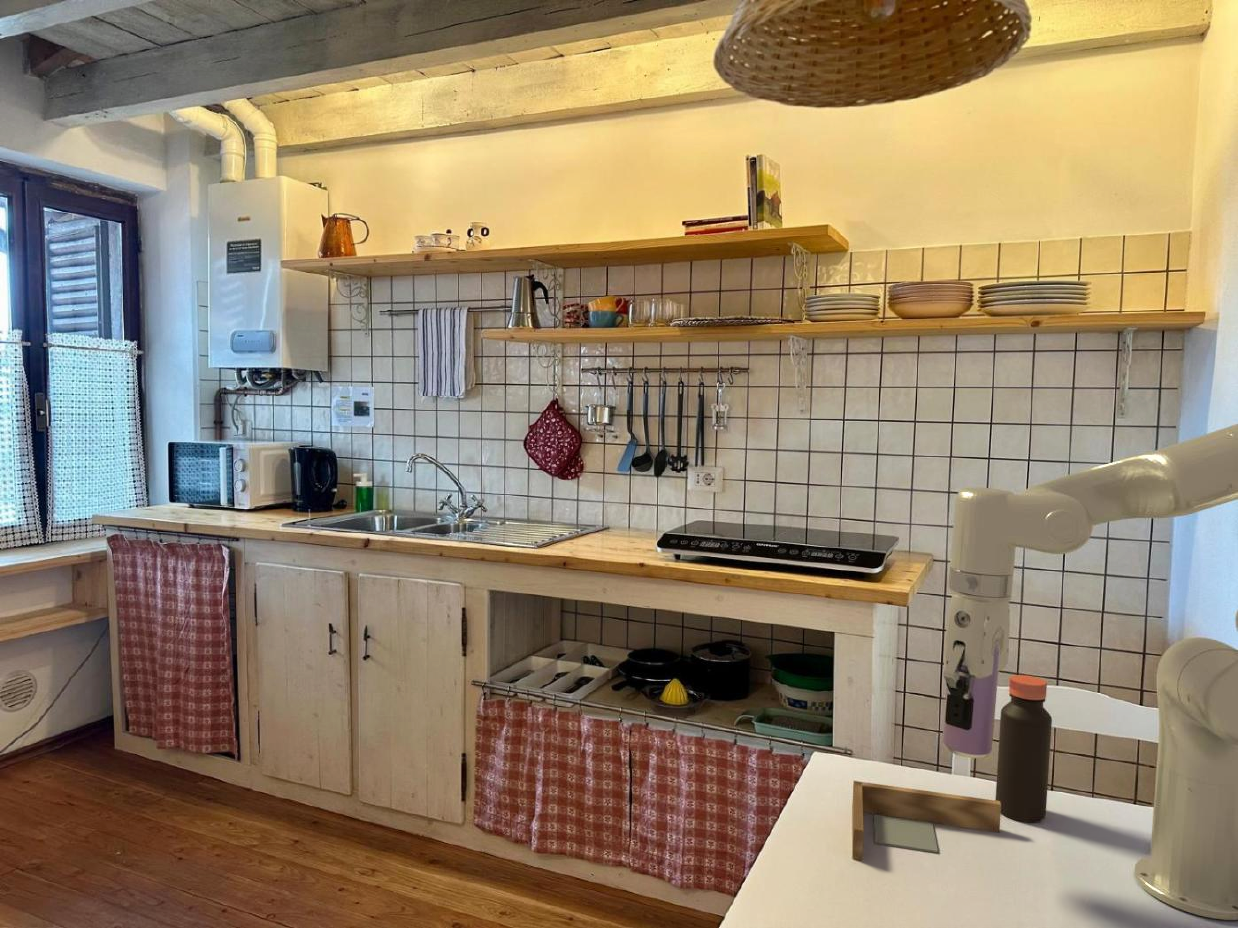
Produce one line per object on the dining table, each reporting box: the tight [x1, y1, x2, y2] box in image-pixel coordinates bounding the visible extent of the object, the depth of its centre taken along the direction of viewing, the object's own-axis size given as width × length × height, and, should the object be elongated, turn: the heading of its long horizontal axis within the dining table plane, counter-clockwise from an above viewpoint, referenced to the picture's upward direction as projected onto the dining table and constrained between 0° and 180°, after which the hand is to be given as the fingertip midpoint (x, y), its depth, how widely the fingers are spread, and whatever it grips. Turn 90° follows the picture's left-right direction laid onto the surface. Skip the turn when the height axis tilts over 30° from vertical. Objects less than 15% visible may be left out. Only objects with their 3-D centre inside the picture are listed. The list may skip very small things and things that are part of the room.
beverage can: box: [942, 644, 1000, 759], centre depth 110 cm, size 6×6×15 cm
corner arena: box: [851, 780, 1002, 861], centre depth 115 cm, size 20×15×4 cm
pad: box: [873, 814, 939, 854], centre depth 117 cm, size 8×8×1 cm
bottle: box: [994, 674, 1053, 823], centre depth 124 cm, size 7×7×20 cm
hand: (968, 719), depth 110 cm, fingers closed on beverage can, 5 cm apart
